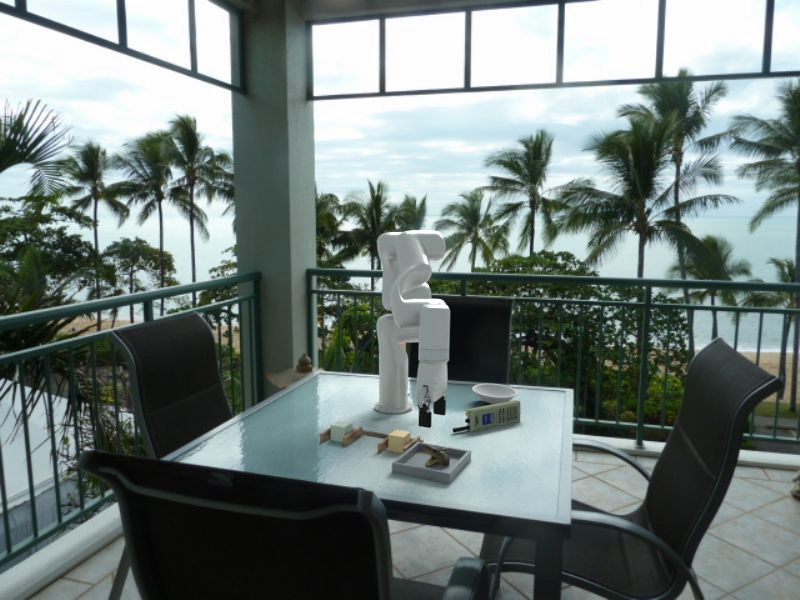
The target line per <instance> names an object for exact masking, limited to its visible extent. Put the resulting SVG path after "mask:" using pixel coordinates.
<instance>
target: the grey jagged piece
mask: <svg viewBox="0 0 800 600" xmlns="http://www.w3.org/2000/svg"><path fill="white" fill-rule="evenodd" d="M422 446H423V448H424V449H425V453H426V454H428V455H431V457H430V459H429V460H428V461H427V462H426V463H425V465H426V466H432V465H434V464H435V463H439V464H444V465H447V466H449V465H450V463H449V461H450V458H449V455H448V454H449V450H448V448H445V447H435V446H432V445H422Z"/></svg>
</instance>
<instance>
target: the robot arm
mask: <svg viewBox="0 0 800 600" xmlns="http://www.w3.org/2000/svg"><path fill="white" fill-rule="evenodd" d="M376 243H377V244H376V246H377V254H378V257H379V260H380V263H381V267H382V281H381V282H382V284H381V285H382V286H381V287H382V289H381V303H382V307H383V308H384V309H385V310H387V311H390V312H391V313H387V314H383V315H381V316H379V318H378V319H377V321H376V336H377V342H378V343H377V344H378V352H379V353H378V366H379V367H378V400H379V401H377V402H375V403H374V407H373V408H374V410H376V412H380V413H383V414H396V415H397V414H404V413H408V412H410V411H411V410H413V403H411V402H410V401H409V397H410V396H411V393H412V392H411V391H410V390H409V357H408V353H407V351H406V350H405V349H404V348H403V347H402V345H401V344H405V343H418V366H417V367H418V368H417V375H416V384H415V385H416V389H415V399H416V401H417V411H418V426H419V427H422V428H425V429H426V428H427V429H430V428H432V420H433V419H432V417H433V414H434V415H439V416H446V415H447V414H446V412H447V411H446V409H447V390H448V362H449V361H450V335H451V333H450V330H451V329H450V328H451V325H450V324H451V310H450V308H449V306H448V305H447V303H446V302H445V301H444V300H443V299H440V298H432V289H431V287H430V286H429V284H428V283H427V282H428V281H429V280H430V278H431V277H432V275H433V273H432V272H433V271H432V266H431V263H430V261H439V260H441V259H443V258H444V256H445V254H446V249H447V247H446V241H445V237H444V236H443V234H441V232H439V230H438V231H437V230H405V231H390V232H389V231H388V232H384V233H382V234H380V235H379V236H378V238H377V242H376ZM432 406H433V410H432ZM431 410H432V411H431ZM432 412H433V413H432Z"/></svg>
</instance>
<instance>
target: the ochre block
mask: <svg viewBox="0 0 800 600" xmlns="http://www.w3.org/2000/svg"><path fill="white" fill-rule="evenodd" d="M411 433H412V432H411V431H406V430H400V429H394V430H393V431H391V432H390V433H388V434H389V435H388V448H387V450H388V451H389V452H395V453H401V454H403V448H404V447H405V446H406V445H407V444H408V443H410V438H411Z"/></svg>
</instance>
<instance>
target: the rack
mask: <svg viewBox="0 0 800 600" xmlns="http://www.w3.org/2000/svg"><path fill="white" fill-rule="evenodd" d="M389 434H390V433H381V432H376V431H372V430H371V431H370V430H365V429H364V428H363V426H359V427H357V428H353V427H352V432H351V433H349V434H347V435H346V436H344V437H343V442H342V447H344V448H346V447H347V446H349V445H350V444H352V443H353V442H355V441H357V440H358V439H359V438H361V437H362V436H364V435H367V436H373V437H379V438H384V439H382V440H381V441H379V442H378V443H377V454H382V453H383V452H384V451H385V450H386V449H387V450H388V435H389ZM329 439H331V426H330V427H329V428H327V429H325V430H323V431H322V432H320V433H319V442H320V443H324V442H326V441H327V440H329ZM417 442H423V443H424V439H421V436H420V435H417V436H416V437H415V438H414V437H413V438H412V437H410V443H408V444H407V445H406V446H405V447H404V448H403V453H405V452H406V451H407V450H408V449H409V448H411V447H412V446H413V445H414V444H416V443H417ZM403 453H402V454H403Z"/></svg>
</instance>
